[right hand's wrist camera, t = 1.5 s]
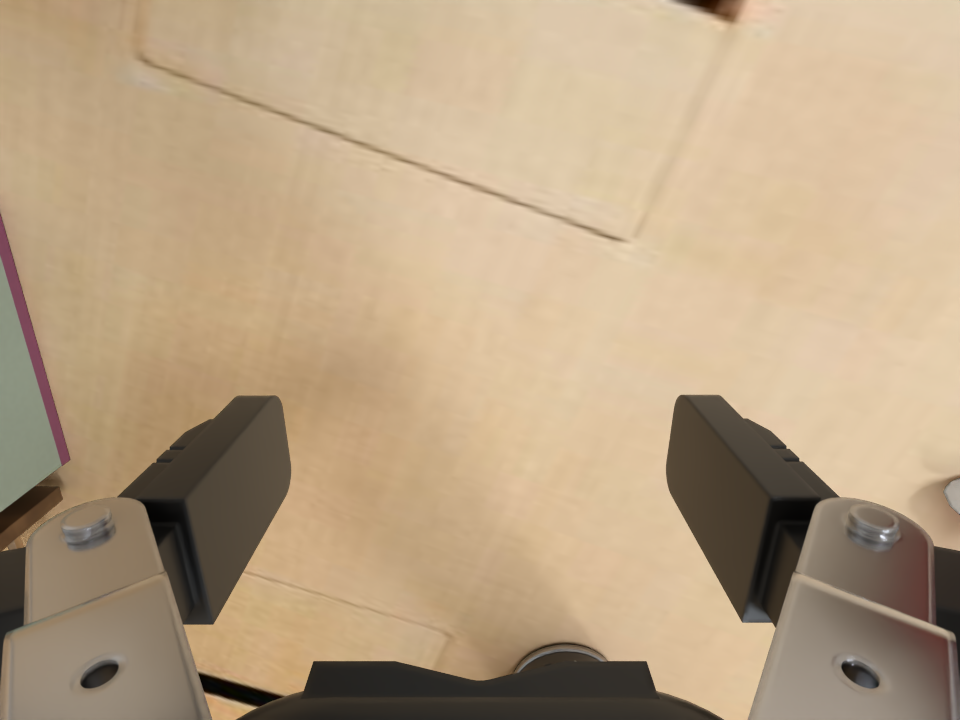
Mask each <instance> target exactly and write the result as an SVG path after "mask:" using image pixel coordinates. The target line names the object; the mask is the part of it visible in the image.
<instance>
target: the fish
mask: <svg viewBox="0 0 960 720" xmlns="http://www.w3.org/2000/svg"><path fill="white" fill-rule="evenodd" d="M943 492H944V494H945V496H946V499H947V501H948V503H949V505H950V506H951V507H952V508H953V509H954V510H955V511H956V512H957V513H958V514H959V515H960V478H958V479H956V480H953V481H951V482H950V483H949V484H948V485H947V486H946V487H945V489H944V491H943Z"/></svg>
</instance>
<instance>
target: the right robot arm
mask: <svg viewBox="0 0 960 720" xmlns="http://www.w3.org/2000/svg"><path fill="white" fill-rule="evenodd" d="M666 476H667V483H668V488H669V491H670V493H671V495H672V497H673V499H674V501H675V503H676V504H677V506H678V508H679V510H680V512H681V513H682V515H683V517H684V519H685V521H686V522H687V524H688V526H689V528H690V530H691V531H692V533H693V535H694V537H695V538H696V540H697V542H698V544H699V546H700V547H701V549H702V551H703V553H704V555H705V556H706V558H707V560H708V562H709V564H710V565H711V567H712V569H713V571H714V573H715V574H716V576H717V578H718V580H719V581H720V583H721V585H722V587H723V589H724V590H725V592H726V594H727V596H728V598H729V599H730V601H731V603H732V605H733V607H734V608H735V610H736V612H737V614H738V616H739V617H740V619H741V621H742V623H773V624H774V626H775V627H776V630H775V633H774V636H773V639H772V643H771V646H770V649H769V652H768V656H767V659H766V662H765V665H764V669H763V672H762V675H761V678H760V682H759V685H758V688H757V691H756V695H755V698H754V701H753V704H752V708H751V711H750V714H749V717H748V720H960V551H957V550H951V549H946V548H941V547H936V546H934V545H933V541H932V539H931V538H930V536H929V535H928V534H927V532H926V531H925V530H924V529H922V528H921V527H920V526H919V525H918V524H916V523H915V522H914V521H912V520H911V519H909V518H907V517H906V516H904V515H902V514H900V513H898V512H896V511H894V510H892V509H889V508H887V507H885V506H882V505H879V504H876V503H873V502H869V501H865V500H860V499H855V498H843V497H839V496H838V495H837V494H836V493H835V492H834V491H833V490H832V489H831V488H830V487H829V486H828V485H826V484H825V483H824V482H823V481H822V480H821V479H820V478H819V477H818V476H817V475H816V474H815V473H814V472H813V471H812V470H811V469H810V468H809V467H808V466H807V465H806V464H805V463H804V462H800V461H799V458H798V457H797V456H796V455H795V454H794V453H793V452H792V451H791V450H790V449H786V445H785V444H784V443H783V442H782V441H781V440H780V439H779V438H777V437H776V436H775V435H774V434H773V433H772V432H771V431H770V430H768V429H766V428H764V427H762V426H760V425H758V424H756V423H755V422H753V421H751V420H749V419H743V418H742V417H741V416H740V415H739V414H738V413H737V412H736V411H735V410H734V409H733V408H732V407H731V406H730V405H729V404H728V403H727V402H726V401H725V400H724V399H723V398H722V397H721V396H720V395H680V396H679V397H678V398H677V400H676V403H675V407H674V413H673V420H672V427H671V434H670V441H669V448H668V455H667V463H666ZM290 479H291V462H290V455H289V448H288V441H287V435H286V428H285V421H284V414H283V407H282V404H281V401H280V399H279V398H278V397H277V396H237V397H235V398H234V399H233V400H232V401H231V402H230V403H229V404H228V405H227V406H226V407H225V408H224V409H223V410H222V411H221V412H220V413H219V414H218V415H217V416H216V417H215V418H214V419H209V420H207V421H206V422H204V423H202V424H200V425H198V426H196V427H194V428H192V429H190V430H189V431H187V432H185V433H184V434H183V435H182V436H181V437H180V438H179V439H178V440H177V441H176V442H175V443H174V444H172V445H171V446H170V450H166V451H165V452H164V453H163V454H162V455H161V456H160V457H159V458H158V459H157V462H156V463H152V464H151V465H150V466H149V467H148V468H147V469H146V470H145V471H144V472H143V473H142V474H141V475H140V476H139V477H138V478H137V479H136V480H135V481H134V482H132V483H131V484H130V485H129V486H128V487H127V488H126V489H125V490H124V491H123V492H122V493H121V494H120V495H119V496H118V497H117V498H105V499H100V500H95V501H91V502H87V503H84V504H81V505H78V506H75V507H73V508H71V509H68V510H66V511H64V512H62V513H60V514H58V515H56V516H54V517H53V518H51V519H49V520H48V521H46V522H45V523H44V524H42V525H41V526H40V527H39V528H38V529H36V530H35V531H34V532H33V534H32V535H31V536H30V538H29V539H28V541H27V545H26V547H23V548H18V549H13V550H7V551H2V552H0V720H212V717H211V714H210V711H209V708H208V704H207V701H206V698H205V695H204V691H203V688H202V685H201V682H200V678H199V675H198V672H197V669H196V665H195V662H194V659H193V656H192V652H191V649H190V646H189V643H188V639H187V636H186V633H185V630H184V626H183V624H214V622H215V621H216V619H217V617H218V615H219V613H220V612H221V610H222V608H223V606H224V605H225V603H226V601H227V599H228V598H229V596H230V594H231V592H232V590H233V589H234V587H235V585H236V583H237V582H238V580H239V578H240V576H241V574H242V573H243V571H244V569H245V567H246V566H247V564H248V562H249V560H250V559H251V557H252V555H253V553H254V551H255V550H256V548H257V546H258V544H259V543H260V541H261V539H262V537H263V536H264V534H265V532H266V530H267V528H268V527H269V525H270V523H271V521H272V520H273V518H274V516H275V514H276V513H277V511H278V509H279V507H280V505H281V504H282V502H283V500H284V498H285V497H286V495H287V492H288V489H289V485H290ZM236 720H724V719H722V718H720V717H718V716H717V715H715V714H713V713H711V712H710V711H708V710H706V709H704V708H701V707H699V706H697V705H695V704H693V703H691V702H688V701H686V700H683V699H680V698H677V697H674V696H672V695H669V694H665V693H661V692H658V691H656V689H655V686H654V683H653V680H652V677H651V674H650V671H649V668H648V665H647V662H646V661H607V660H606V659H605V658H604V657H603V656H602V655H600V654H599V653H597V652H596V651H594V650H592V649H589V648H586V647H583V646H578V645H571V644H561V645H553V646H549V647H545V648H542V649H539V650H537V651H535V652H533V653H531V654H530V655H528V656H527V657H526V658H524V659H523V660H522V661H521V662H520V664H519V665H518V666H517V668H516V669H515V671H514V674H511V675H507V676H503V677H498V678H494V679H490V680H485V681H475V680H470V679H466V678H462V677H457V676H453V675H449V674H445V673H441V672H437V671H433V670H429V669H425V668H421V667H416V666H412V665H408V664H404V663H400V662H396V661H314V662H313V665H312V668H311V671H310V674H309V677H308V680H307V683H306V686H305V689H304V691H302V692H299V693H295V694H291V695H288V696H286V697H283V698H280V699H277V700H274V701H272V702H269V703H267V704H265V705H263V706H261V707H259V708H256V709H254V710H252V711H250V712H249V713H247V714H245V715H243V716H242V717H240V718H238V719H236Z"/></svg>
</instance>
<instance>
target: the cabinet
mask: <svg viewBox="0 0 960 720" xmlns="http://www.w3.org/2000/svg"><path fill="white" fill-rule="evenodd" d="M69 460H70V457H69V453H68V450H67V446H66V443H65V439H64V436H63V432H62V429H61V425H60V422H59V418H58V415H57V411H56V408H55V404H54V401H53V397H52V394H51V390H50V387H49V383H48V380H47V376H46V373H45V369H44V366H43V362H42V359H41V355H40V352H39V348H38V345H37V341H36V338H35V334H34V331H33V327H32V324H31V320H30V317H29V313H28V310H27V306H26V303H25V299H24V296H23V292H22V289H21V285H20V282H19V278H18V275H17V271H16V268H15V264H14V261H13V257H12V253H11V250H10V246H9V243H8V239H7V236H6V232H5V229H4V225H3V222H2V218H1V215H0V512H1V511H3V510H4V509H5V508H7V507H8V506H9V505H11V504H12V503H13V502H14V501H16V500H17V499H18V498H20V497H21V496H22V495H24V494H25V493H26V492H28V491H29V490H30V489H32V488H33V487H34V486H36V485H37V484H38V483H40V482H41V481H42V480H43V479H45V478H46V477H47V476H49V475H50V474H51V473H53V472H54V471H55V470H57V469H58V468H59V467H61V466H63V465H64V464H65V463H67V462H68V461H69Z"/></svg>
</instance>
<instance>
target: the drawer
mask: <svg viewBox="0 0 960 720" xmlns="http://www.w3.org/2000/svg"><path fill="white" fill-rule="evenodd" d="M62 500H63V498H62V494H61V491H60V488H59V487H48V486H34V487H33V488H32V489H30V490H29V491H28V492H26V493H25V494H24V495H22V496H21V497H20V498H18V499H17V500H16V501H14V502H13V503H12V504H11V505H9V506H8V507H7V508H5V509H4V510H3V511H1V512H0V552H1V551H2V550H3V549H5V548H6V547H7V546H8V549H9V550H13V549H18V548H23V547H24V546H23V543H22V540H21V538H20V535H21V534H22V533H24V532H25V531H26V530H27V529H28V528H30V527H31V526H32V525H33V524H34V523H36V522H37V521H38V520H39V519H40V518H41V517H43V516H44V515H45V514H46V513H47V512H49V511H50V510H51V509H52V508H53V507H55V506H56V505H57V504H58V503H59V502H60V501H62Z"/></svg>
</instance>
